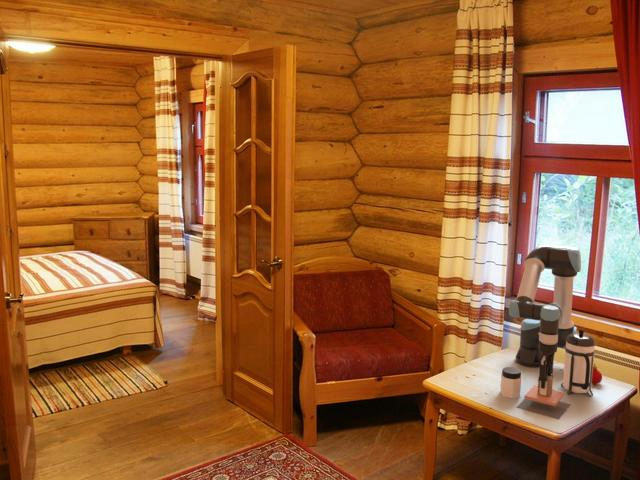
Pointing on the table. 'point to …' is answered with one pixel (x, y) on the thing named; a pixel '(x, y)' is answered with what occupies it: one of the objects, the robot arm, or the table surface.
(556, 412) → the mat
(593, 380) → the christmas ornament
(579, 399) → the table surface
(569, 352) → the coffee press
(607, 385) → the table surface
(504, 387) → the jar
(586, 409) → the table surface
